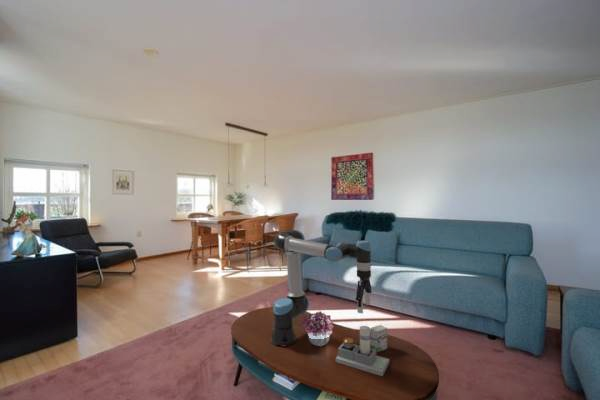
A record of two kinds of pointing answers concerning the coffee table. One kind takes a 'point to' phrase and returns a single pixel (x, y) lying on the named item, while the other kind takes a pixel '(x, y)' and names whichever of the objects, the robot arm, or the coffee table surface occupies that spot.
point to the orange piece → (348, 344)
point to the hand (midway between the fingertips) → (364, 308)
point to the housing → (362, 360)
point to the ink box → (379, 338)
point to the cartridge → (365, 340)
